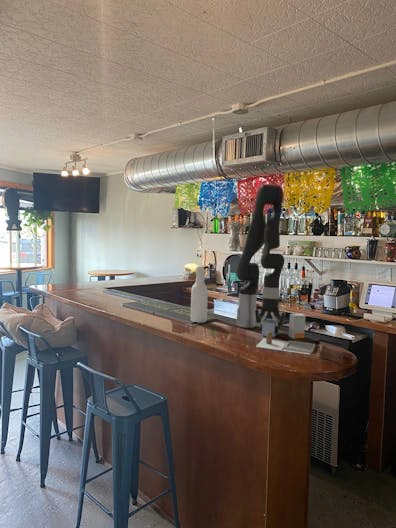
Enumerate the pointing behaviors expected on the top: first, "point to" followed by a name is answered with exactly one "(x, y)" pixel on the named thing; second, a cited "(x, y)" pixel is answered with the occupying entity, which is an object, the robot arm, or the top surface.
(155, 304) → the top surface
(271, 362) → the top surface
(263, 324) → the blue-grey block
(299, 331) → the skincare box
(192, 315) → the alcohol
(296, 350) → the board
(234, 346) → the top surface
